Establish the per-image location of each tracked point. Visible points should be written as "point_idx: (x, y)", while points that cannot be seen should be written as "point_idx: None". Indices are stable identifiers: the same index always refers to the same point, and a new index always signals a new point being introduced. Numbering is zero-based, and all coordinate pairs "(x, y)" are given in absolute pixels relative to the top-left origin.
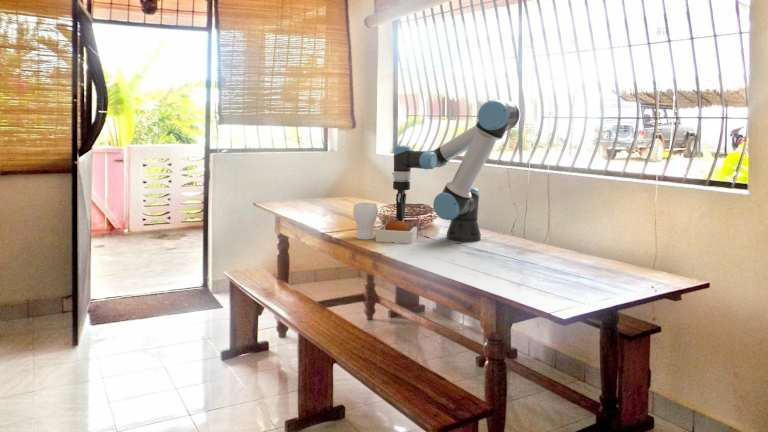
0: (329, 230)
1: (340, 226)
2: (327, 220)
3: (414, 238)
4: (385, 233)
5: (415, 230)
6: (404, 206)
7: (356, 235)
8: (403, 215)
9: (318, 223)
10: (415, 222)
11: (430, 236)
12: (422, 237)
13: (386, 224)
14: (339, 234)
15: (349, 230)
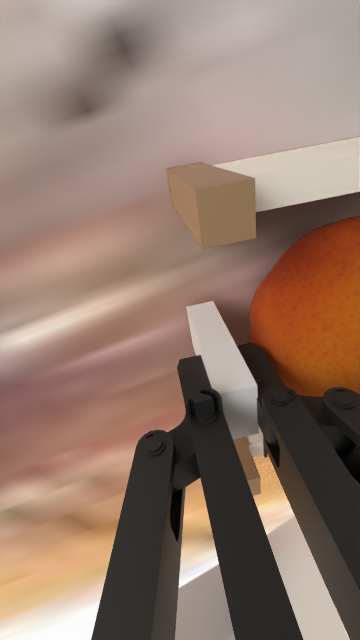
0: (205, 555)
1: (102, 573)
2: (17, 631)
3: (341, 142)
4: None
5: (340, 152)
6: (153, 619)
7: None
8: (230, 433)
9: (96, 615)
10: (251, 215)
11: (43, 26)
12: (157, 112)
13: (235, 446)
14: (270, 510)
15: None
